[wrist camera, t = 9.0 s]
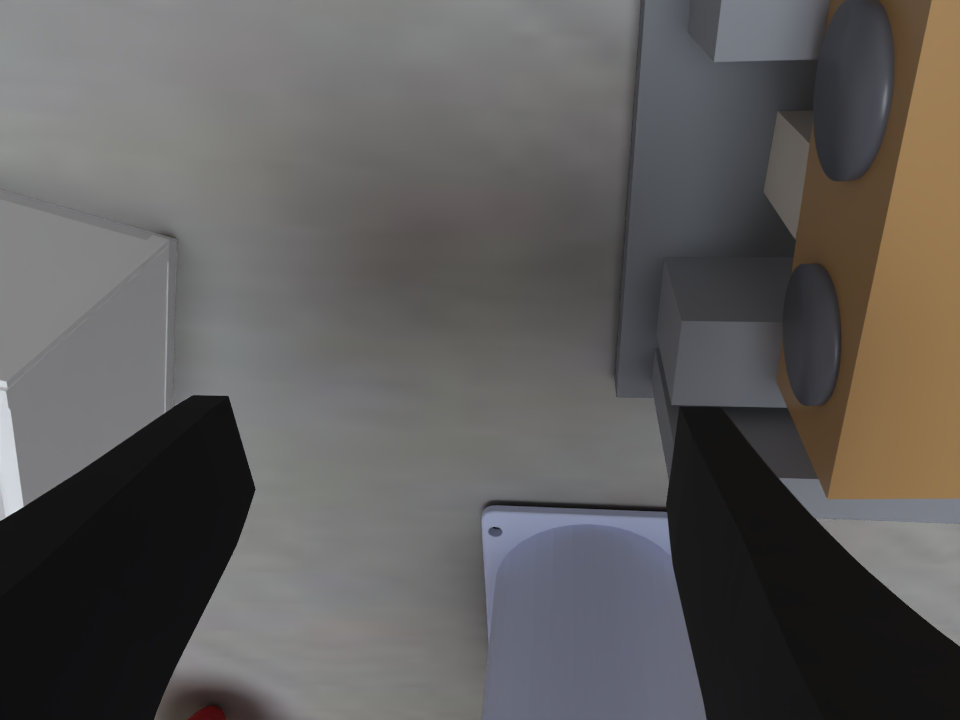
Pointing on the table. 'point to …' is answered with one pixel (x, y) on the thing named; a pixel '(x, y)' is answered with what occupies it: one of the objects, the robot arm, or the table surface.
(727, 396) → the display stand
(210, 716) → the strawberry
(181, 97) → the table surface
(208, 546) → the robot arm
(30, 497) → the butter dish
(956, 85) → the orange-brown rectangular block
